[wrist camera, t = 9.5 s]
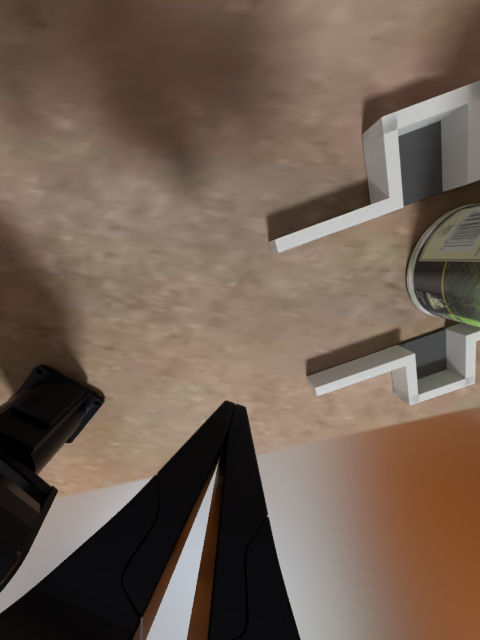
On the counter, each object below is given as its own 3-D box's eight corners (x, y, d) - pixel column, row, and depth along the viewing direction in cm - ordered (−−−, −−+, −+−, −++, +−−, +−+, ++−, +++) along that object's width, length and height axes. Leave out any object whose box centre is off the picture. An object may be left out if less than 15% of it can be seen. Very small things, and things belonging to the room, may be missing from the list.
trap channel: (318, 419, 23) (343, 461, 18) (250, 176, 16) (262, 139, 11) (526, 347, 23) (608, 371, 18) (560, 60, 15) (717, -32, 10)
